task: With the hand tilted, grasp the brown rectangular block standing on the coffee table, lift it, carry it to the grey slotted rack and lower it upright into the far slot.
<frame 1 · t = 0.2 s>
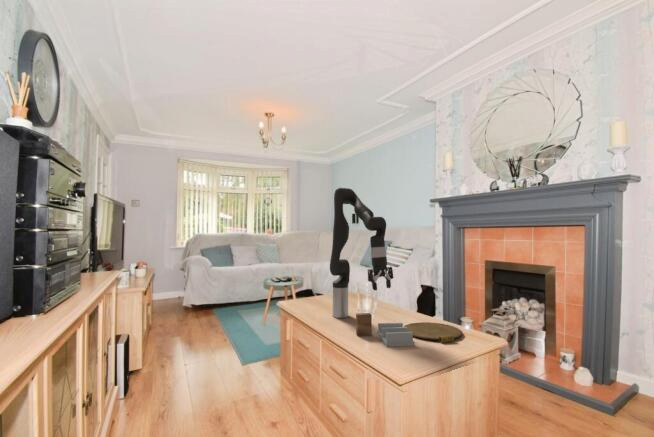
hand: (381, 289, 155), 22 cm above the table, tool pointing down, fingers open, 8 cm apart
decorative disc: (432, 333, 156), on the table
rack: (394, 339, 146), on the table
brown rectangular block: (363, 334, 153), on the table
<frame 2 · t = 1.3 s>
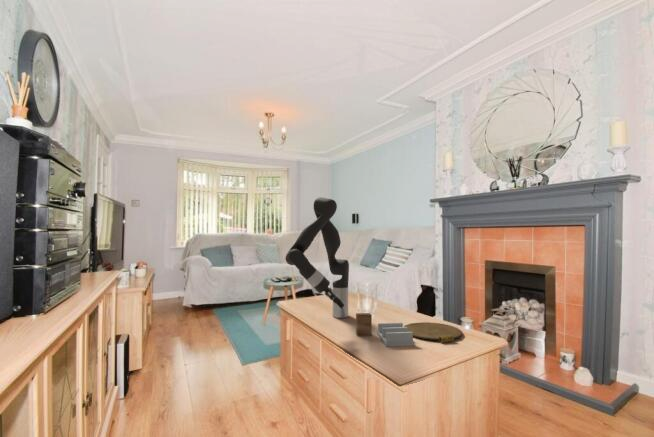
hand: (341, 304, 152), 15 cm above the table, tool tilted 45°, fingers open, 8 cm apart
nothing on the table moved.
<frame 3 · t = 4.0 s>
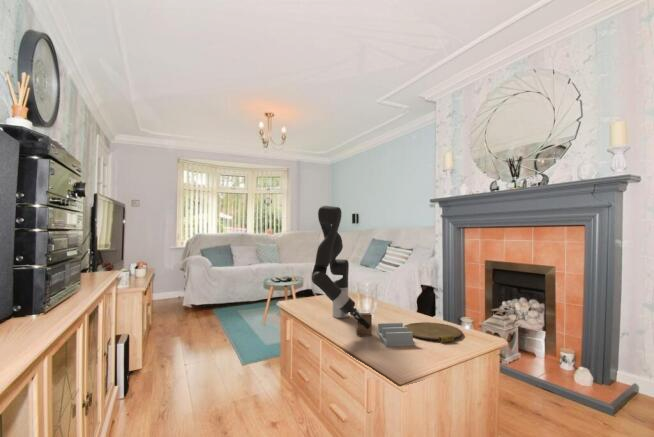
hand: (367, 326, 153), 4 cm above the table, tool tilted 45°, fingers closed on brown rectangular block, 3 cm apart
brown rectangular block: (363, 334, 153), on the table, touching gripper
everything else where it was.
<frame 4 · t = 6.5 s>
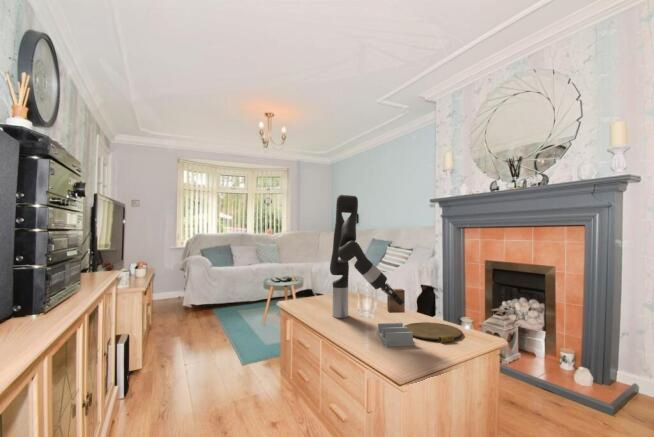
hand: (400, 302, 143), 18 cm above the table, tool tilted 45°, fingers closed on brown rectangular block, 3 cm apart
brown rectangular block: (395, 311, 143), point 14 cm above the table, touching gripper
everything else where it was.
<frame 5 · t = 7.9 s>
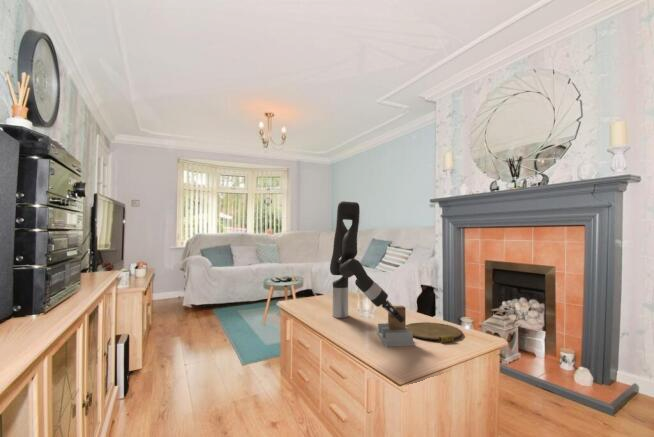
hand: (401, 319, 143), 10 cm above the table, tool tilted 45°, fingers closed on brown rectangular block, 3 cm apart
brown rectangular block: (396, 328, 143), point 6 cm above the table, touching gripper
everything else where it was.
when the fingers open (7 cm above the table, at t = 8.8 s): brown rectangular block drops 2 cm, resting on rack.
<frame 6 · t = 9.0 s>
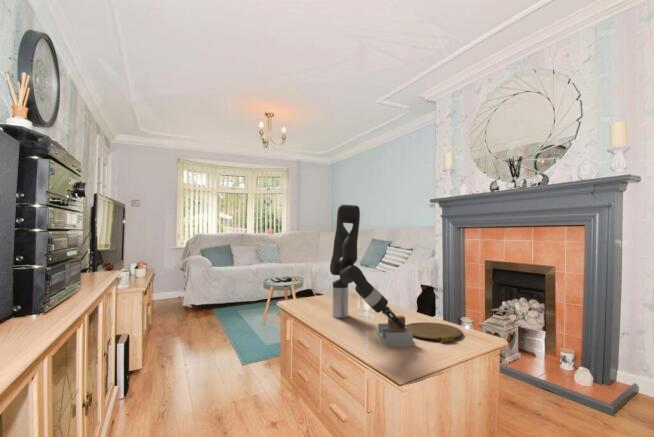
hand: (400, 325, 143), 8 cm above the table, tool tilted 45°, fingers open, 5 cm apart
brown rectangular block: (396, 338, 143), point 2 cm above the table, touching rack
everything else where it was.
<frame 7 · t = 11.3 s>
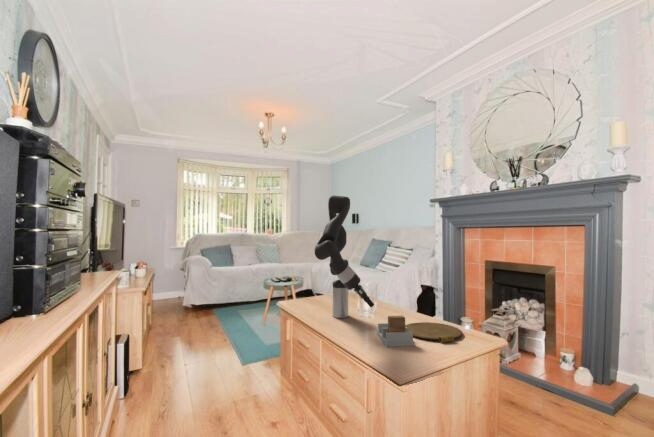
hand: (370, 302, 145), 17 cm above the table, tool tilted 40°, fingers open, 8 cm apart
nothing on the table moved.
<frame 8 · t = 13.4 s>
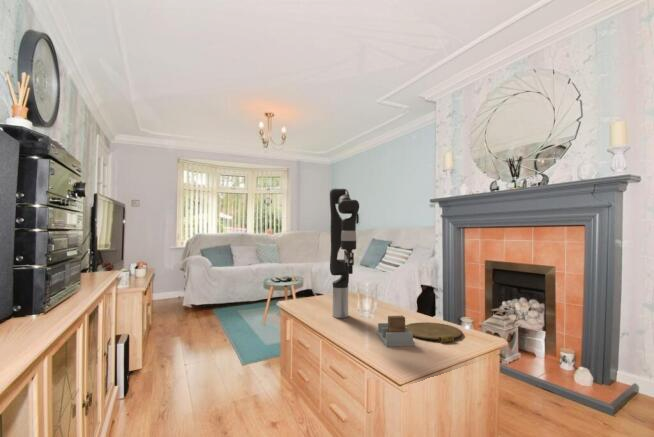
hand: (348, 272, 155), 30 cm above the table, tool pointing down, fingers open, 8 cm apart
nothing on the table moved.
at the end: brown rectangular block 0.2 cm from the target spot on the rack, point 1.5 cm above the rack's base; brown rectangular block tilted 0°; the gripper is holding nothing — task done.
